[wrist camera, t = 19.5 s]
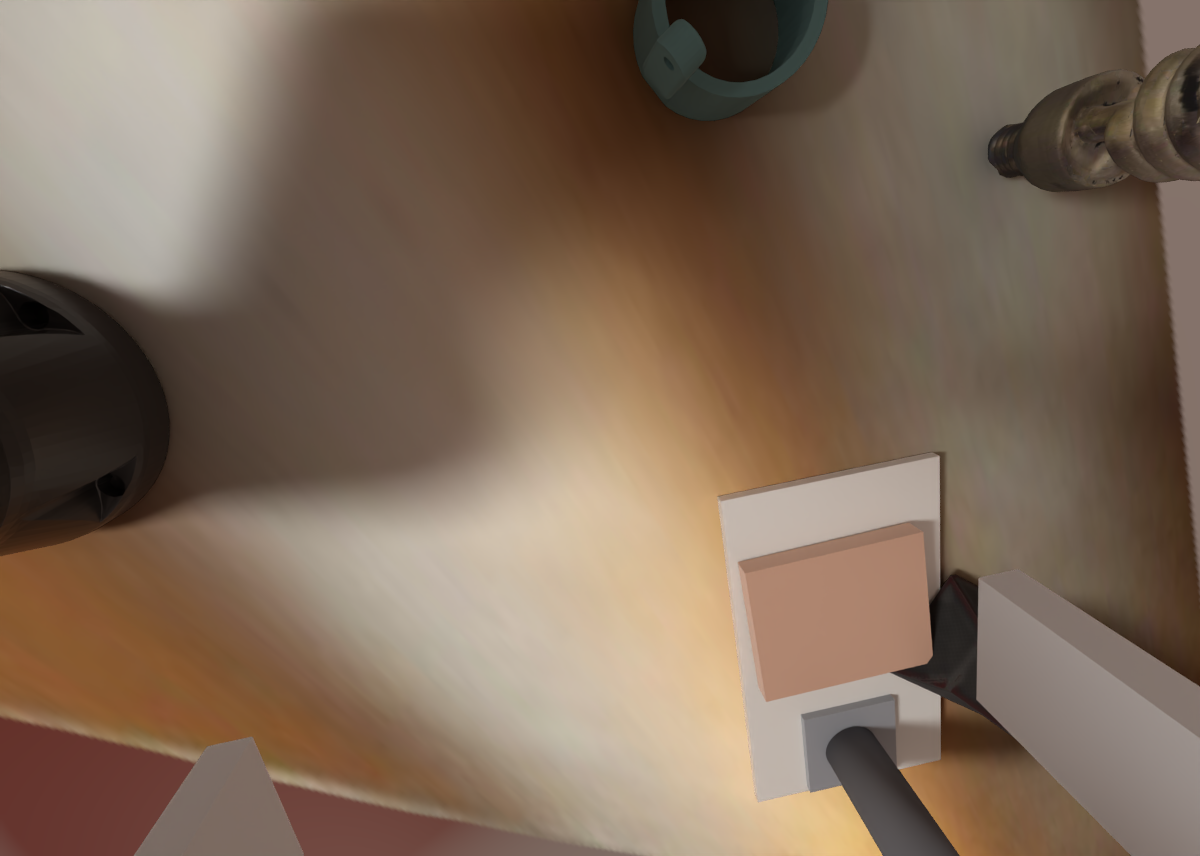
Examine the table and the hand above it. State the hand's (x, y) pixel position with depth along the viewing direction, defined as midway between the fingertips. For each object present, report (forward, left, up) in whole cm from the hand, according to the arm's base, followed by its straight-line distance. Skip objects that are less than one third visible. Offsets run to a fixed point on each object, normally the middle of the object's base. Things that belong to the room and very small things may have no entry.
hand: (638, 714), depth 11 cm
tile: (+15, -13, -25) cm, 32 cm away
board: (+16, -22, -27) cm, 38 cm away
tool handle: (+16, -31, -25) cm, 43 cm away
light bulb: (+28, +9, -27) cm, 40 cm away
